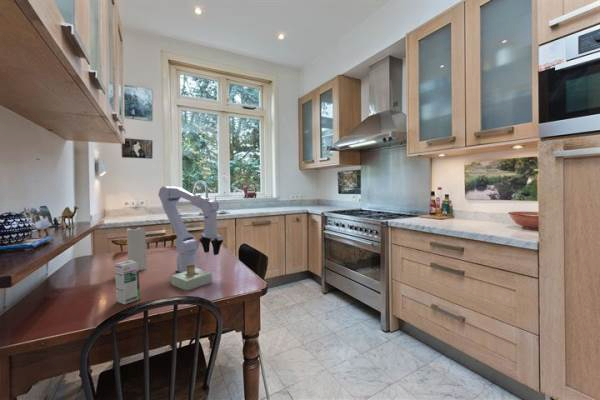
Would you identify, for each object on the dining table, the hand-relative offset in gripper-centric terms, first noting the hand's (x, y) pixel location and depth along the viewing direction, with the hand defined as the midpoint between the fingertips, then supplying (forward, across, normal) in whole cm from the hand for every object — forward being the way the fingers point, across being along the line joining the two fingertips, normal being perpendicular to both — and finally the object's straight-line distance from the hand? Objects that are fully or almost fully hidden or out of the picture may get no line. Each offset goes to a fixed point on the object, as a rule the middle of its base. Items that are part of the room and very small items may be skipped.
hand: (211, 253), depth 131 cm
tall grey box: (+10, -37, -19) cm, 43 cm away
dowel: (+10, +4, -13) cm, 17 cm away
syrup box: (+10, +1, -37) cm, 38 cm away
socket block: (+10, +4, -13) cm, 17 cm away
